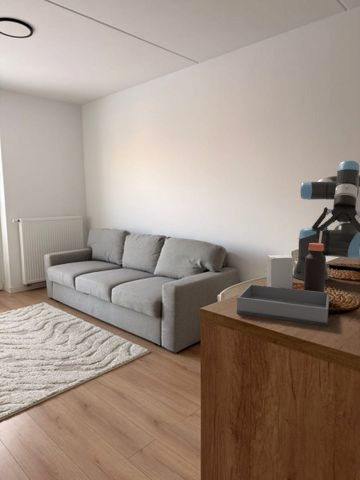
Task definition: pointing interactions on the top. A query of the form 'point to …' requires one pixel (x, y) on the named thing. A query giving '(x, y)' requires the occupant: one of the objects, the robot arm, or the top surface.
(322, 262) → the vinegar
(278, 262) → the skincare box
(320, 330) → the top surface
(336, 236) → the robot arm
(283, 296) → the tray
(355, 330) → the top surface
